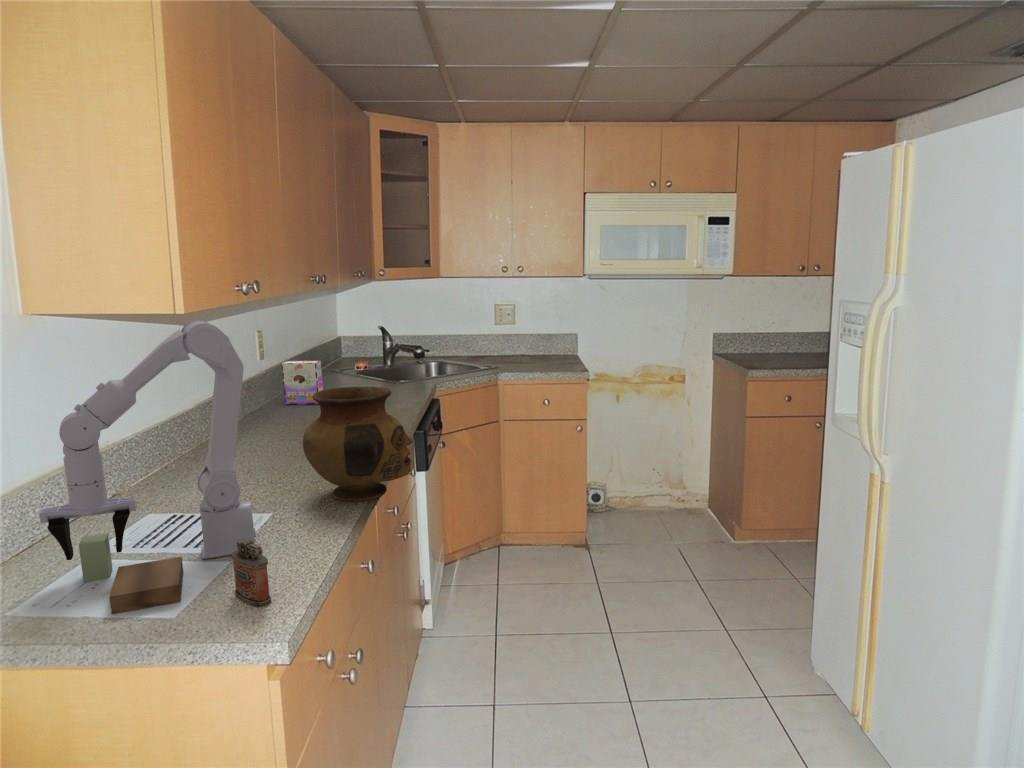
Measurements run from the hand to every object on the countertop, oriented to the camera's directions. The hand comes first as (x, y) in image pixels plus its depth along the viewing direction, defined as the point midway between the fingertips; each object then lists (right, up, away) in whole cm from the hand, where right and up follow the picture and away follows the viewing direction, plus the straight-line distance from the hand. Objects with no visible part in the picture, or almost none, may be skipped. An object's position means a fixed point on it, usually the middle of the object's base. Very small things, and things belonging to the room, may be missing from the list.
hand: (95, 554), depth 125 cm
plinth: (+13, -5, -6) cm, 15 cm away
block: (0, -4, +1) cm, 4 cm away
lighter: (+31, -5, -9) cm, 33 cm away
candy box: (-7, +23, +149) cm, 150 cm away
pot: (+38, +4, +43) cm, 57 cm away
